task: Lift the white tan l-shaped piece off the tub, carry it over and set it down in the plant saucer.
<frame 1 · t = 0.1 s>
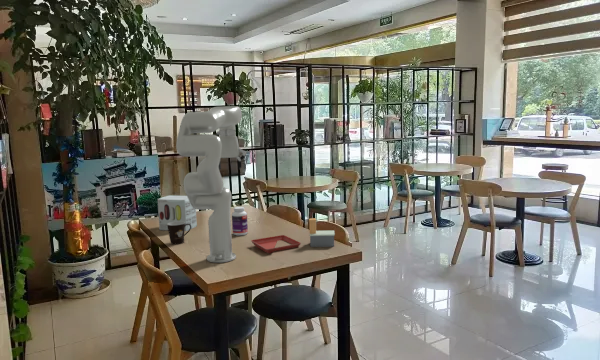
hand: (229, 169, 216), 37 cm above the table, tool pointing down, fingers open, 9 cm apart
tub: (322, 246, 212), on the table
pill bottle: (240, 234, 240), on the table
plant saucer: (275, 248, 213), on the table
white tan l-shaped piece: (322, 233, 211), point 6 cm above the table, touching tub
supplement box: (178, 228, 258), on the table
coffee mug: (180, 242, 226), on the table
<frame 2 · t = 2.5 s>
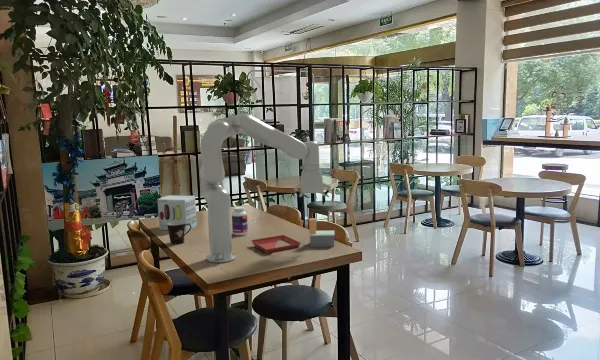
hand: (312, 204, 210), 20 cm above the table, tool pointing down, fingers open, 9 cm apart
nothing on the table moved.
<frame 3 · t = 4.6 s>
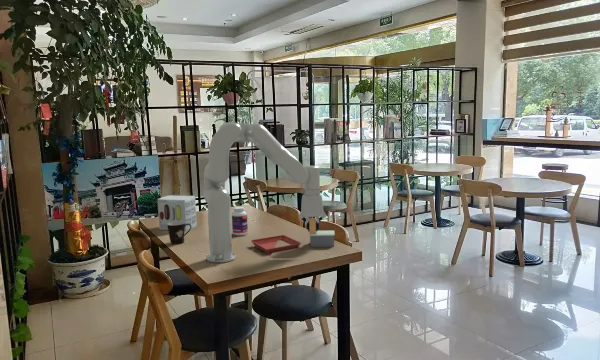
hand: (312, 230, 211), 8 cm above the table, tool pointing down, fingers closed on white tan l-shaped piece, 3 cm apart
white tan l-shaped piece: (322, 233, 211), point 6 cm above the table, touching gripper
everything else where it was.
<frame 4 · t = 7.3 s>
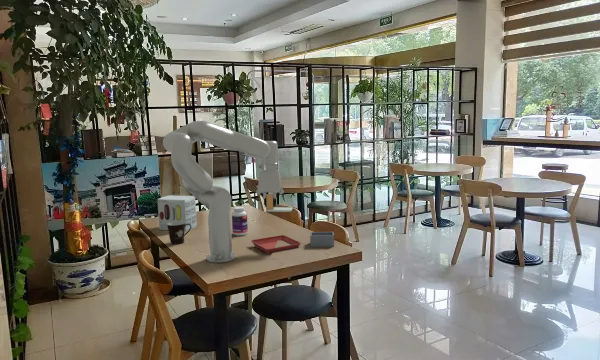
hand: (270, 206, 210), 20 cm above the table, tool pointing down, fingers closed on white tan l-shaped piece, 3 cm apart
white tan l-shaped piece: (279, 210, 210), point 18 cm above the table, touching gripper
everything else where it was.
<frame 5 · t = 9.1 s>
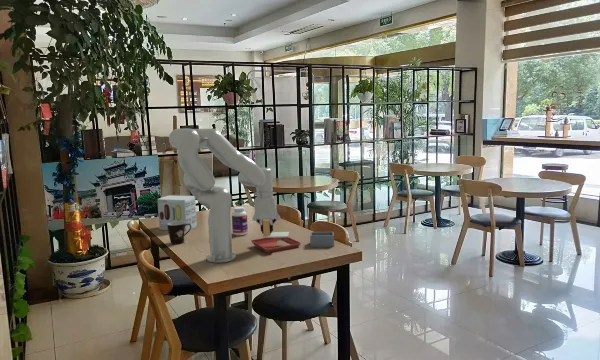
hand: (267, 232, 212), 7 cm above the table, tool pointing down, fingers closed on white tan l-shaped piece, 3 cm apart
white tan l-shaped piece: (276, 235, 212), point 6 cm above the table, touching gripper
everything else where it was.
when the fingers open (5 cm above the table, at t = 10.1 s): white tan l-shaped piece stays where it is, resting on plant saucer.
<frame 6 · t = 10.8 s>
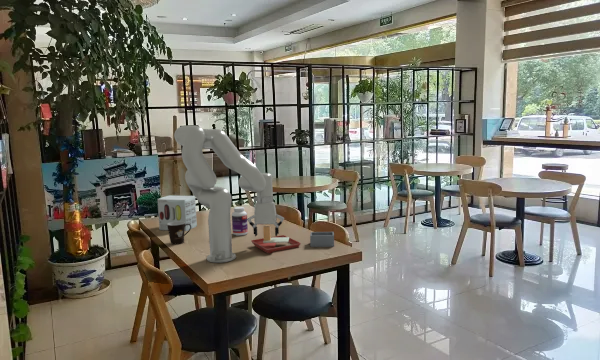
hand: (266, 235, 212), 6 cm above the table, tool pointing down, fingers open, 9 cm apart
plant saucer: (275, 248, 213), on the table, touching white tan l-shaped piece
white tan l-shaped piece: (276, 240, 212), point 3 cm above the table, touching plant saucer
everything else where it was.
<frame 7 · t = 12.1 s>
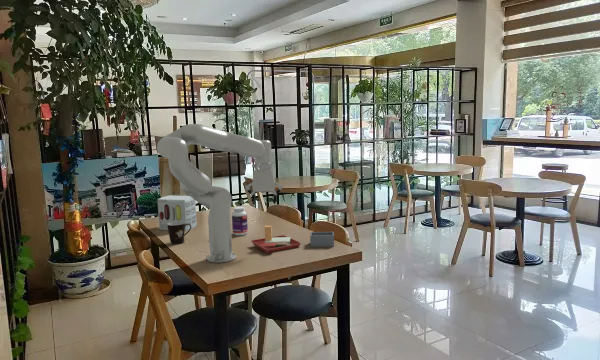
hand: (264, 203, 210), 21 cm above the table, tool pointing down, fingers open, 9 cm apart
plant saucer: (275, 248, 213), on the table
white tan l-shaped piece: (277, 240, 212), point 3 cm above the table
everything else where it was.
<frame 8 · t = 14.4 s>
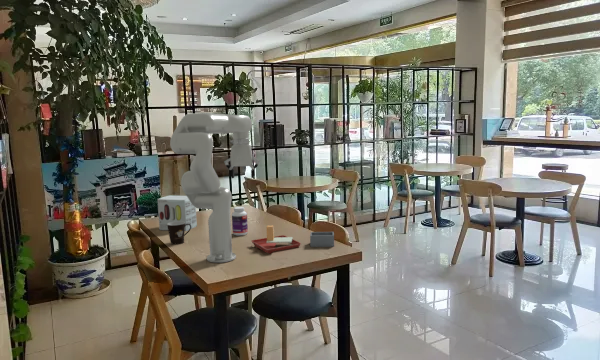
hand: (242, 177, 218), 32 cm above the table, tool pointing down, fingers open, 9 cm apart
plant saucer: (276, 248, 213), on the table, touching white tan l-shaped piece
white tan l-shaped piece: (279, 240, 212), point 3 cm above the table, touching plant saucer
everything else where it was.
at the end: white tan l-shaped piece touching plant saucer; white tan l-shaped piece 1.9 cm from the plant saucer (horizontally); white tan l-shaped piece point 3.2 cm above the table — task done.
